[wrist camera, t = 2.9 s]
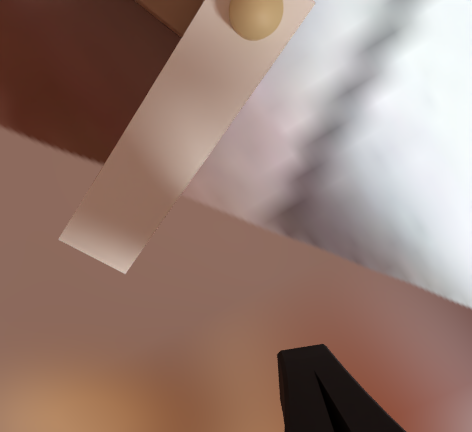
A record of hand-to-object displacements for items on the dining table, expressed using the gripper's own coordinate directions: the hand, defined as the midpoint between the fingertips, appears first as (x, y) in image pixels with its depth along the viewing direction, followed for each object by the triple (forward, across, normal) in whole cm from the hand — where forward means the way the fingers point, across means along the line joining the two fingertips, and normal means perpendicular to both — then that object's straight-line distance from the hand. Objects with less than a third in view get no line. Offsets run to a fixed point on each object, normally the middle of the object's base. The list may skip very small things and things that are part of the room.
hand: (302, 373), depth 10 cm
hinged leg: (+6, +3, -7) cm, 10 cm away
